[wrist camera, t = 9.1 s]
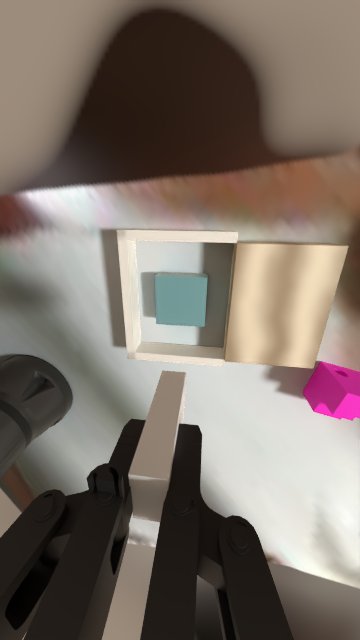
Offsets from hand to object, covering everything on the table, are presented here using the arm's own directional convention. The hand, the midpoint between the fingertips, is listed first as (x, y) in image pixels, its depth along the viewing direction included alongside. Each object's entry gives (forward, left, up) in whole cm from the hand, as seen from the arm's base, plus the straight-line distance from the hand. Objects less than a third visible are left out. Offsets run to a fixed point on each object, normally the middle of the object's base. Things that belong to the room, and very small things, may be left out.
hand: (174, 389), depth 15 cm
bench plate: (+11, 0, -20) cm, 23 cm away
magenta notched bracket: (+27, -14, -21) cm, 36 cm away
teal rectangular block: (-2, 0, -21) cm, 21 cm away
